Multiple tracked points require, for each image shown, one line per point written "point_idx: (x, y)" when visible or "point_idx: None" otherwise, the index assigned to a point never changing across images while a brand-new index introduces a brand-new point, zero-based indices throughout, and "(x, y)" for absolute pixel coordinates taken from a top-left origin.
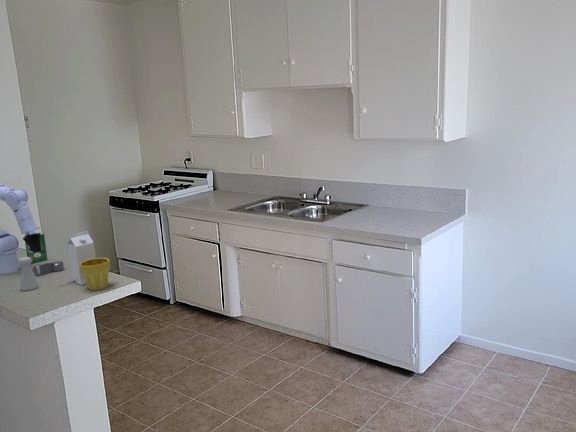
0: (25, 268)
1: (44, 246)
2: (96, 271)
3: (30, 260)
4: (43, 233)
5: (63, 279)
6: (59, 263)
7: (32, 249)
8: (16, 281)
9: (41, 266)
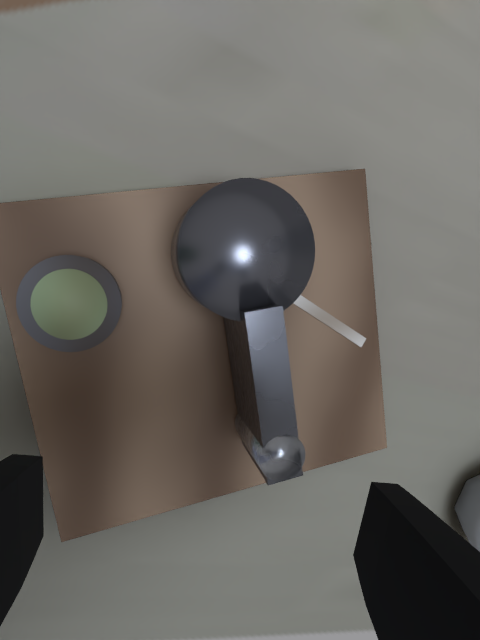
0: None
1: None
2: None
3: None
4: None
5: (417, 279)
6: (295, 233)
7: (12, 592)
8: (175, 563)
9: (293, 417)
